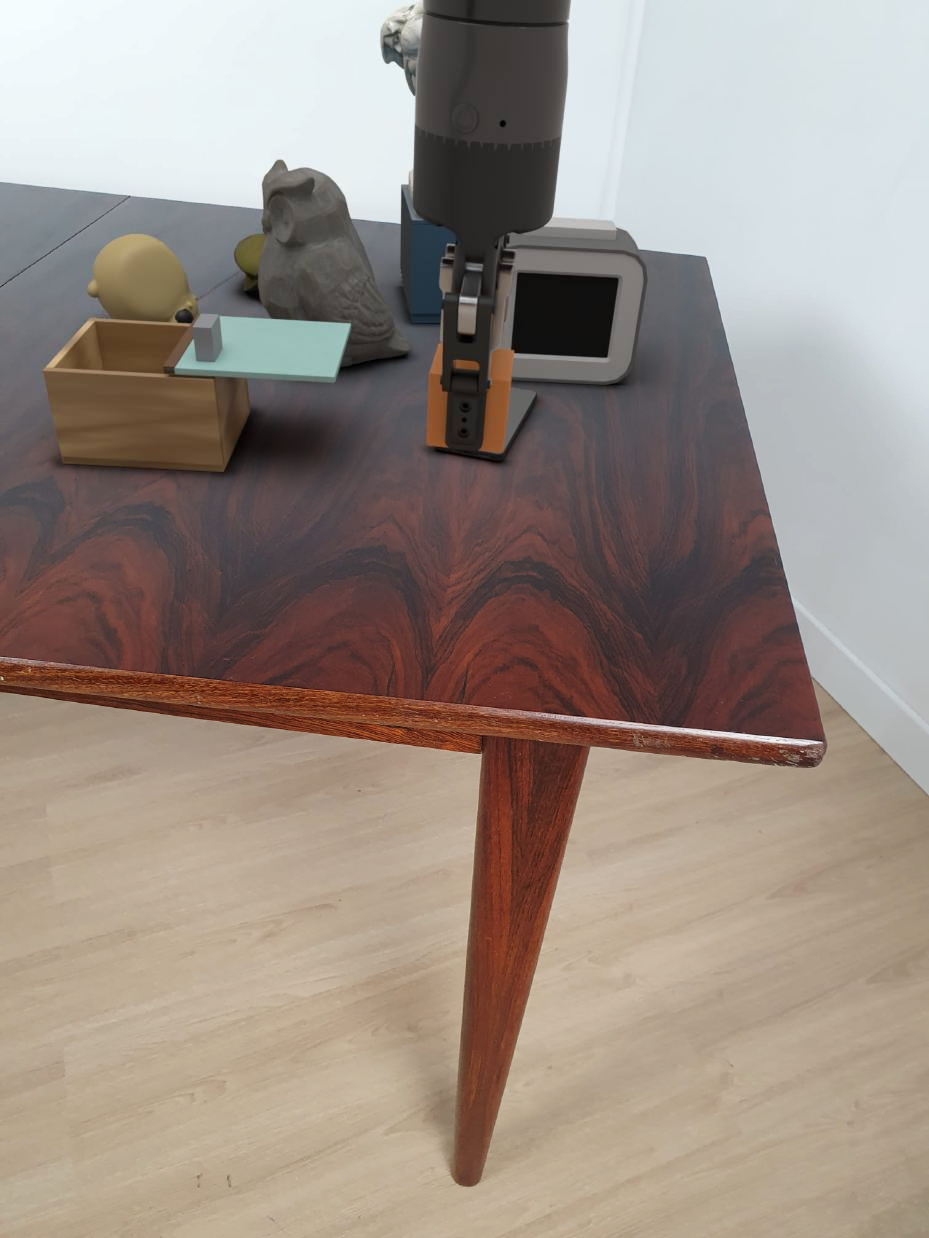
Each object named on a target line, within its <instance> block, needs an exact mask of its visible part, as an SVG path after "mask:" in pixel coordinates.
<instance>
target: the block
mask: <svg viewBox="0 0 929 1238" xmlns="http://www.w3.org/2000/svg"><path fill="white" fill-rule="evenodd" d="M435 351H436V352H435V353H434V357H433V360H432V363H431V366H430V370H429V372H428V389H427V390H428V392H427V414H426V415H427V419H426V440H425V442H426V443H425V444H426V446H427V447H428V446H429V447H435V446H437V447H447V445H446V443H445V432H446V413H447V394H448V392H443V391H442V385H440V377H441V375H442V357H443V344H442V343H441V342H439V343H438V344H437V348H436V349H435ZM513 358H514V350H506V349H497V350H495V351H493V353H492V360H491V371H490V378H492V386H491V387H490V389H489V391H488V393H487V399H486V412H485V424H484V437H483V444H482V447H481V449H479V450H478V451H487V452H497V453H503V449H504V442H505V435H506V428H507V421H508V411H509V401H510V390H511V387H512V380H511V379H512V369H513ZM456 368H461V369H472V370H479V364H478V363H477V362H475V361H465V360H457V363H456ZM447 448H449V447H447Z"/></svg>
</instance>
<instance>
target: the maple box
mask: <svg viewBox="0 0 929 1238" xmlns="http://www.w3.org/2000/svg"><path fill="white" fill-rule="evenodd" d="M190 325H191V324H188V323H170V322H153V321H135V320H118V319H112V318H98V317H89V318H88V320H87V321H86V322H85V323H84V324H83V325H82V326H81V327H80V328H79V330H77V332H76V333H75V334H74V335H73V336H72V337H71V338H70V340H69V341H67V343H66V344H65V345H64V346H63V347H62V349H60V351H58V353H57V354H56V355H55V356H54V357H53V359H52V360H51V361H50V362H48V364H47V365H46V366H45V367H44V368H43V369H42V374H43V379H44V383H45V388H46V392H47V397H48V401H49V406H50V411H51V415H52V420H53V424H54V429H55V433H56V434H55V435H56V439H57V443H58V448H59V452H60V456H61V457H60V458H61V460H62V461H61V462H62V464H67V465H68V464H69V465H88V466H106V467H122V468H123V467H125V468H142V469H159V470H160V469H161V470H180V471H195V472H196V471H198V472H216V473H224V472H225V470H226V468H227V466H228V463H229V461H230V459H231V456H232V454H233V452H234V450H235V447H236V445H237V442H238V441H239V438H240V436H241V434H242V431H243V429H244V427H245V425H246V422H247V421H248V418H249V416H250V414H251V405H250V395H249V394H250V392H249V382H248V378H235V377H218V376H200V375H182V374H164V370H163V365H164V364H165V362H166V361H167V359H168V358H169V356H170V355H171V353H172V352H173V350H174V349H175V347H176V346H177V344H178V343H179V341H180V340H181V338H182V337H183V335H184V334H185V332H186V331H187V329H188V328H189V326H190Z"/></svg>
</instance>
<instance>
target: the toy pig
mask: <svg viewBox="0 0 929 1238" xmlns="http://www.w3.org/2000/svg"><path fill="white" fill-rule="evenodd" d="M91 276H92V280H91V281H90V283H89V284H88V285H87V288H86V293H87V295H88V296H89V297H91V298H93V299H97V300H98V302H99V304H100V305H101V307H102V308H103V309H104V311H105V312H106V313H107V314H108V316H109V317H110V319H118V320H135V321H153V322H170V323H188V324H191V323H192V322H193V320H194V319H195V317H196V315H197V314H199V305H198V302H197V301H198V296H197V295H195V294H193V293H192V292H191V289H190V285H189V280H188V276H187V274H186V271H185V269H184V267H183V265H182V263H181V262H180V261H179V259H178V257H177V255H175V253H174V252H173V251H172V250H171V249H170V248H169V247H168V245H166V244H164V243H163V242H162V241H160V240H159V239H157V238H156V237H153V236H151V235H148V234H144V233H130V234H125V235H121V236H120V237H117V238H115V239H113V240H111V241H110V242H109V243H107V244H106V245H105V246H104V247H103V248H102V249H101V250H100V251H99V252H98V254H97V256H96V258H95V260H94V263H93V266H92V275H91Z"/></svg>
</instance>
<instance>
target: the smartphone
mask: <svg viewBox="0 0 929 1238" xmlns="http://www.w3.org/2000/svg"><path fill="white" fill-rule="evenodd" d="M537 398H538V392H536V391H535V390H532V389H527V388H520V387H514V386H511V390H510V401H509V411H508V421H507V428H506V435H505V442H504V449H503V453H497V452H487V451H467V450H457V449H451V448H447V447H437V446H434V448H435V449H436V450H440V451H445V452H451V453H455V454H461V455H466V456H471V457H477V458H483V459H487V460H492V461H493V460H494V461H501V460H503V459H504V458H505V455H506V454H507V453H508V450H509V448H510V446H511V445H512V443H513V441H514V440H515V437H517V434H518V432H519V431H520V429H521V427H522V425H523V424H524V422H525V420H526V418H527V417H528V415H529V413H530V412H531V409H532V408H533V406H534V404H535V402H536V400H537Z"/></svg>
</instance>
